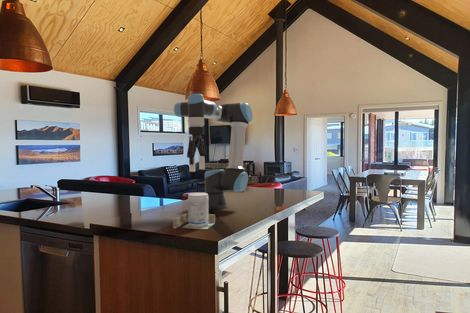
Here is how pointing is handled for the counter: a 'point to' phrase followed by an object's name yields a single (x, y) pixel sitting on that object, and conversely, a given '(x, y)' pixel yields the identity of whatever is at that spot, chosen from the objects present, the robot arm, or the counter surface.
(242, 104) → the robot arm
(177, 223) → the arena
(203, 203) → the supplement tub
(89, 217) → the counter surface
